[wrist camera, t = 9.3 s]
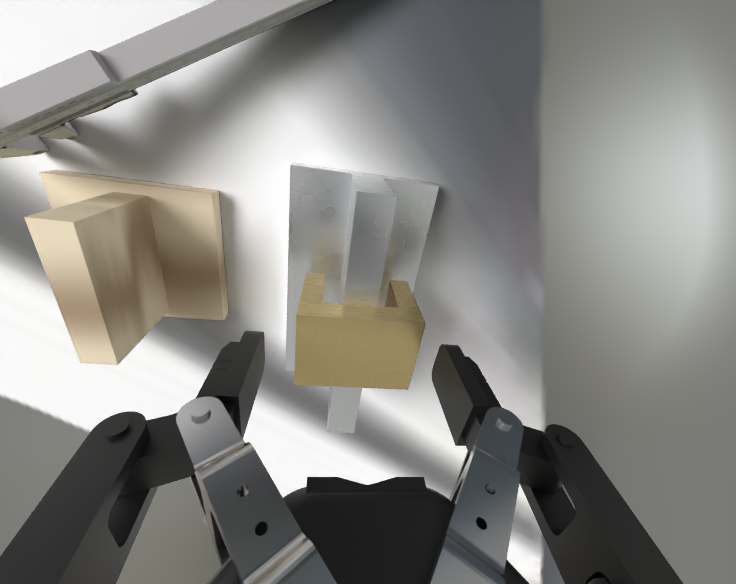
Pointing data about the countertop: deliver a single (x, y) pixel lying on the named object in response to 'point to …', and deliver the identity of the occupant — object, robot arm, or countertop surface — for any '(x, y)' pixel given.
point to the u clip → (356, 339)
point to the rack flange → (352, 248)
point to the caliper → (127, 69)
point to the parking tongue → (128, 258)
